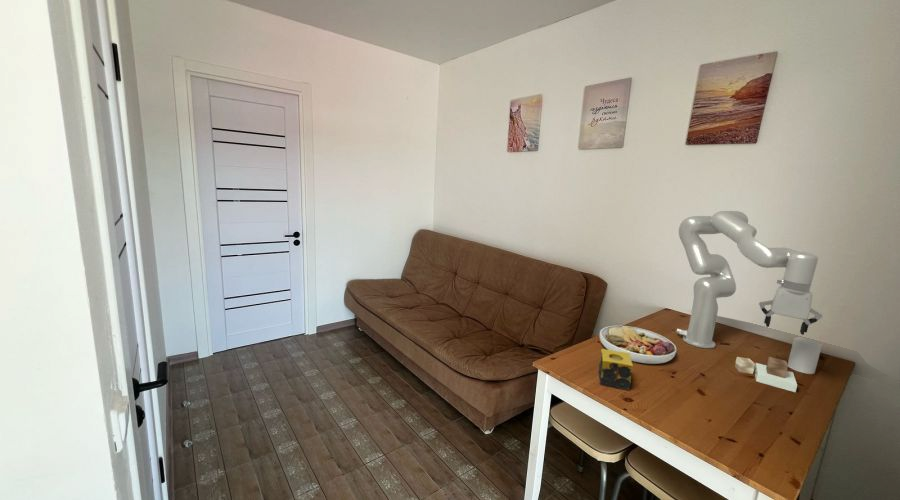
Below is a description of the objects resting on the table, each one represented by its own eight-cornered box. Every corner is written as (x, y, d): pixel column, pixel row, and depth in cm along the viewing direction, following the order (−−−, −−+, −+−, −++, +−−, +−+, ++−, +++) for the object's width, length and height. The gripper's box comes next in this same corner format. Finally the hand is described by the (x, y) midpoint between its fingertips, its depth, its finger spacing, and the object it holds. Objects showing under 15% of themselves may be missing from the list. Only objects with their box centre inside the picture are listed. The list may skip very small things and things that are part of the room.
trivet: (756, 381, 136) (757, 374, 136) (754, 369, 145) (755, 362, 144) (795, 392, 130) (797, 384, 129) (791, 379, 139) (792, 372, 138)
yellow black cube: (626, 377, 136) (630, 352, 134) (630, 391, 127) (634, 365, 125) (597, 371, 139) (601, 347, 137) (599, 385, 130) (602, 360, 128)
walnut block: (767, 373, 137) (770, 361, 136) (766, 368, 140) (768, 356, 139) (784, 378, 134) (787, 366, 133) (783, 372, 137) (786, 360, 136)
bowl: (589, 350, 157) (591, 333, 155) (609, 329, 179) (611, 314, 178) (667, 376, 138) (671, 357, 137) (679, 349, 161) (682, 333, 159)
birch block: (739, 372, 143) (741, 361, 142) (734, 366, 147) (736, 356, 146) (752, 374, 142) (755, 364, 141) (747, 368, 146) (749, 358, 145)
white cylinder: (820, 375, 143) (827, 347, 140) (796, 372, 144) (803, 344, 142) (804, 364, 151) (811, 338, 148) (782, 362, 152) (789, 336, 150)
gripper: (765, 283, 133) (754, 326, 136) (831, 294, 123) (818, 340, 126) (763, 278, 139) (753, 320, 142) (827, 289, 128) (814, 333, 132)
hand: (784, 329), depth 134 cm, fingers open, 9 cm apart
